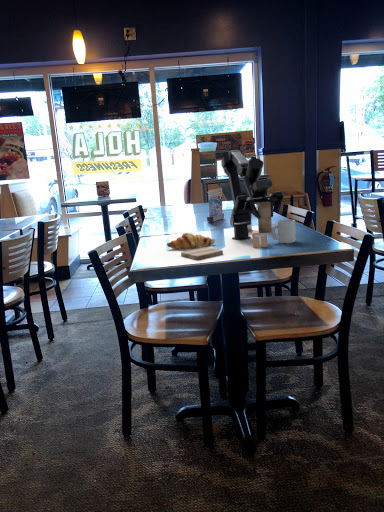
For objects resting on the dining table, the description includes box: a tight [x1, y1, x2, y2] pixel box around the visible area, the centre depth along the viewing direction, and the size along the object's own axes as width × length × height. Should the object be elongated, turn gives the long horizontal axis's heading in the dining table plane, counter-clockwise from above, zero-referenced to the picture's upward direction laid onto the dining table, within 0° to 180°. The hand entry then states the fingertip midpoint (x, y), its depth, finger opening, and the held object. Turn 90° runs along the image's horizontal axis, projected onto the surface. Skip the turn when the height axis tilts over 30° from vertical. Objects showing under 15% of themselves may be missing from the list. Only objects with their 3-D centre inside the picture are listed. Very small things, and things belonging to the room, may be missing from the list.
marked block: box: [251, 229, 269, 248], centre depth 171 cm, size 6×6×6 cm
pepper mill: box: [256, 202, 273, 236], centre depth 157 cm, size 5×5×12 cm
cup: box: [271, 219, 297, 244], centre depth 173 cm, size 7×10×9 cm
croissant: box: [166, 232, 216, 251], centre depth 182 cm, size 21×10×8 cm, turn 96°
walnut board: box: [180, 246, 224, 261], centre depth 164 cm, size 12×12×2 cm
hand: (265, 217), depth 156 cm, fingers closed on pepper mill, 5 cm apart
